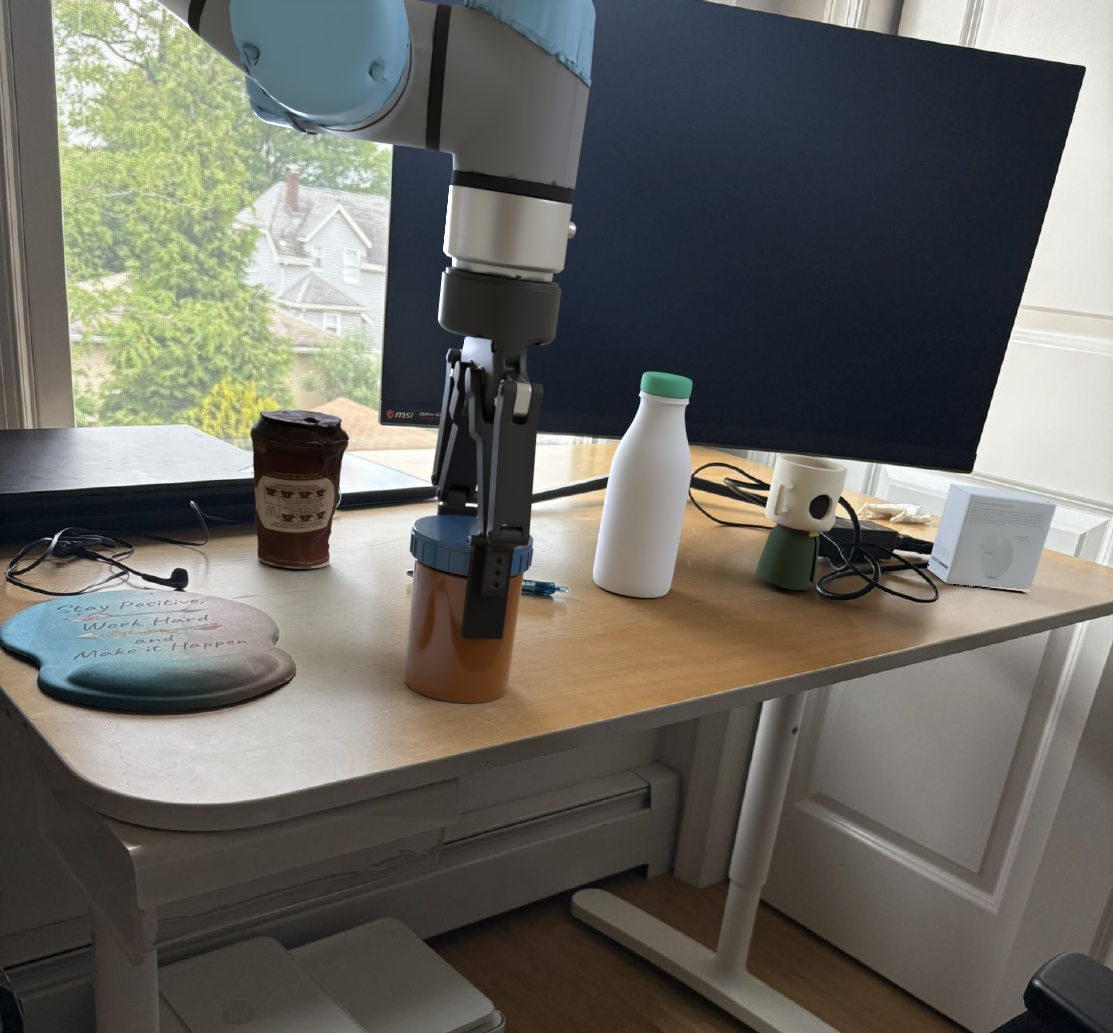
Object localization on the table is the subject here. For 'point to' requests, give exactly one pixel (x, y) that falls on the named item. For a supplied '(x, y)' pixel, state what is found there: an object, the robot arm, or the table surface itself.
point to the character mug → (799, 518)
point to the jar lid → (455, 544)
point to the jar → (455, 641)
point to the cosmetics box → (990, 537)
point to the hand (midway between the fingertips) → (464, 613)
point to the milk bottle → (647, 493)
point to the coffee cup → (296, 485)
